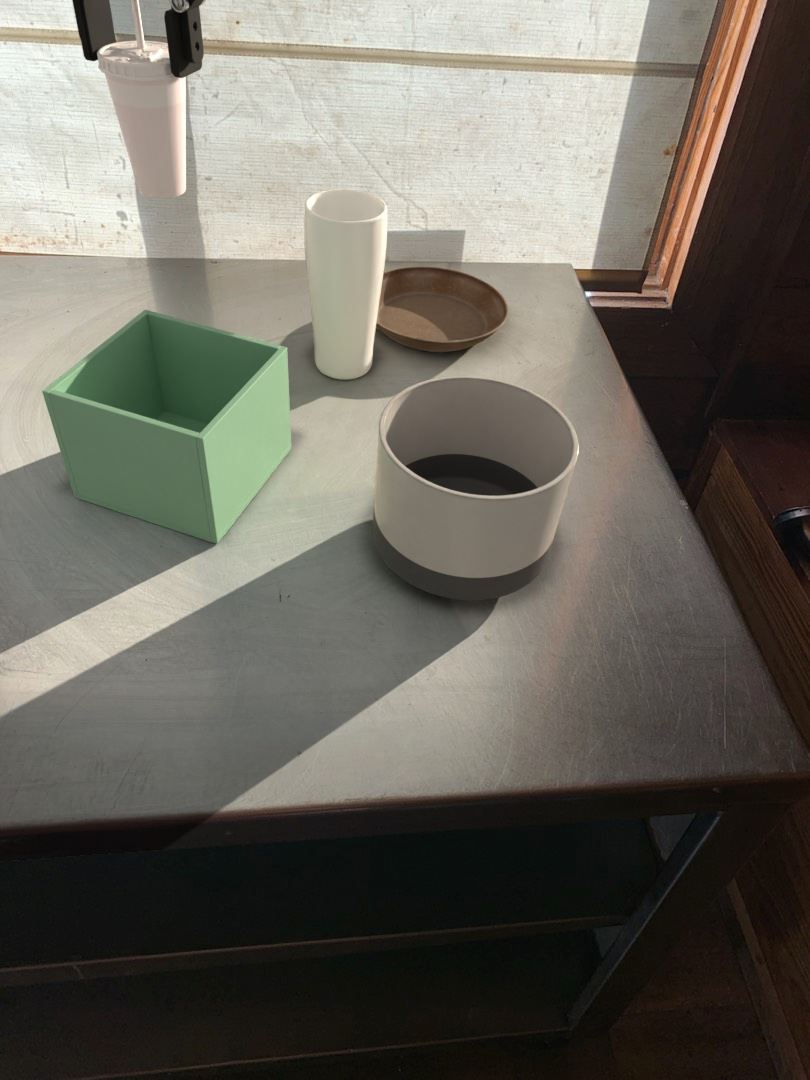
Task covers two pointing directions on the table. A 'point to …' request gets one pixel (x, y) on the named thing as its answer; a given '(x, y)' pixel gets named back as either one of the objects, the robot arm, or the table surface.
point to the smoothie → (148, 110)
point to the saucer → (438, 308)
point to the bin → (173, 423)
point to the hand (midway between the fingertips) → (143, 62)
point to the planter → (470, 485)
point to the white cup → (344, 277)
